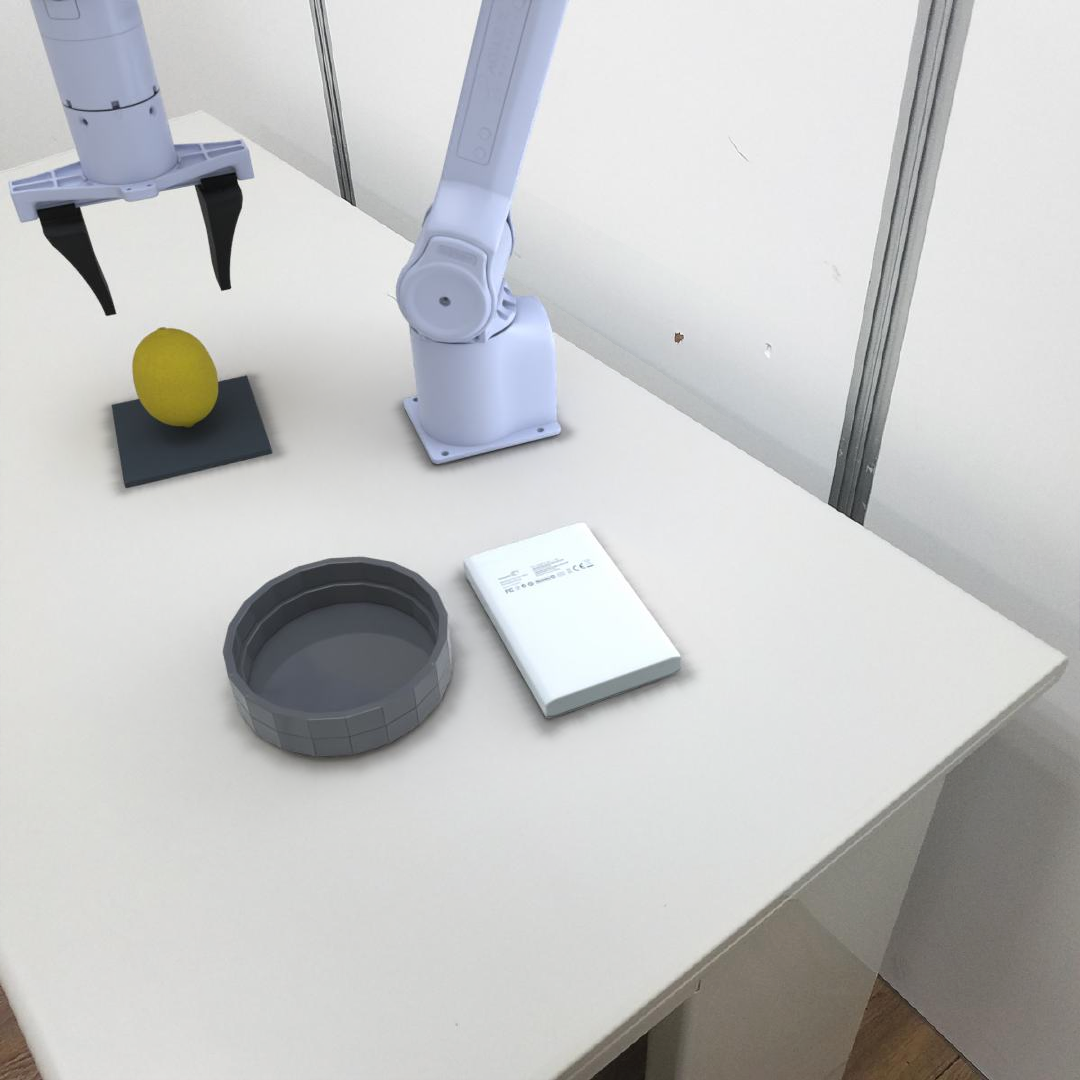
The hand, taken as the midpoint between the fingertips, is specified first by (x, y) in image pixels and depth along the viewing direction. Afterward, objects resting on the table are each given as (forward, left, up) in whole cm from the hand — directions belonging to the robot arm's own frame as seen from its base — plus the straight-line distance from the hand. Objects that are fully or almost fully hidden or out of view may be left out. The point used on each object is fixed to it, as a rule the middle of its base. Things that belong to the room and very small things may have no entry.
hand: (167, 295), depth 76 cm
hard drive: (-17, +30, -10) cm, 36 cm away
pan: (-4, +29, -9) cm, 31 cm away
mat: (+1, +2, -9) cm, 10 cm away
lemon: (+1, +2, -9) cm, 10 cm away
